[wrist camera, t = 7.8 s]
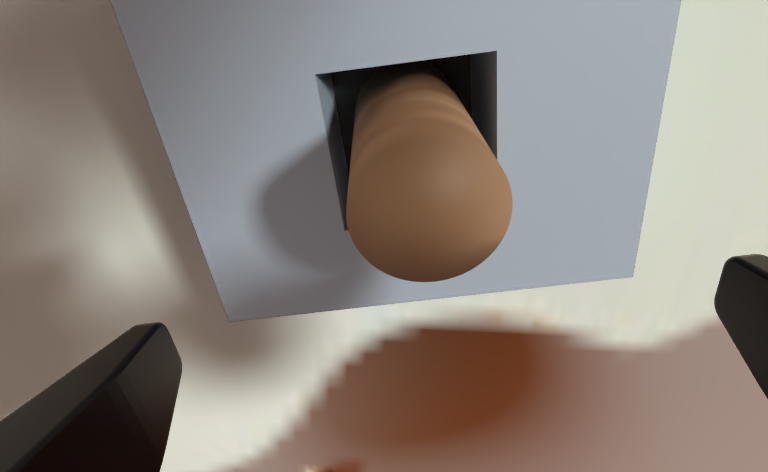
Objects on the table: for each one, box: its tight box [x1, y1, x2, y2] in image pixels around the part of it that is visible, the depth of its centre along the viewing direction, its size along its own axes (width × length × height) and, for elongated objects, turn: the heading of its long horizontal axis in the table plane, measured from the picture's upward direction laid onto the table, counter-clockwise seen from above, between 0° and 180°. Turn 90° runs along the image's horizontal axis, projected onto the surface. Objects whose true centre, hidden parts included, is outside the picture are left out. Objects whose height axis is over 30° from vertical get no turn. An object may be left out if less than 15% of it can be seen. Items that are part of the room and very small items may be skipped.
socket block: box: [110, 0, 681, 322], centre depth 16 cm, size 14×11×4 cm
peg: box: [346, 61, 513, 282], centre depth 14 cm, size 4×4×8 cm
